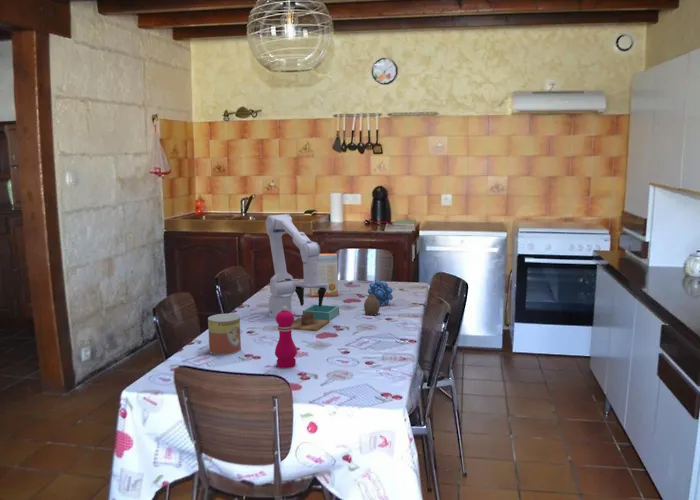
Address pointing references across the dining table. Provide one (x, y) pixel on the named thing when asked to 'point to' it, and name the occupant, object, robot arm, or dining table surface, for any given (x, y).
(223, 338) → the canned food
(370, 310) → the brown egg-shaped piece
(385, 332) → the dining table surface
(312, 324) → the lid
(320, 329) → the mat
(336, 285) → the cracker box
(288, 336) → the pepper mill
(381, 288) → the grapes
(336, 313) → the dish
